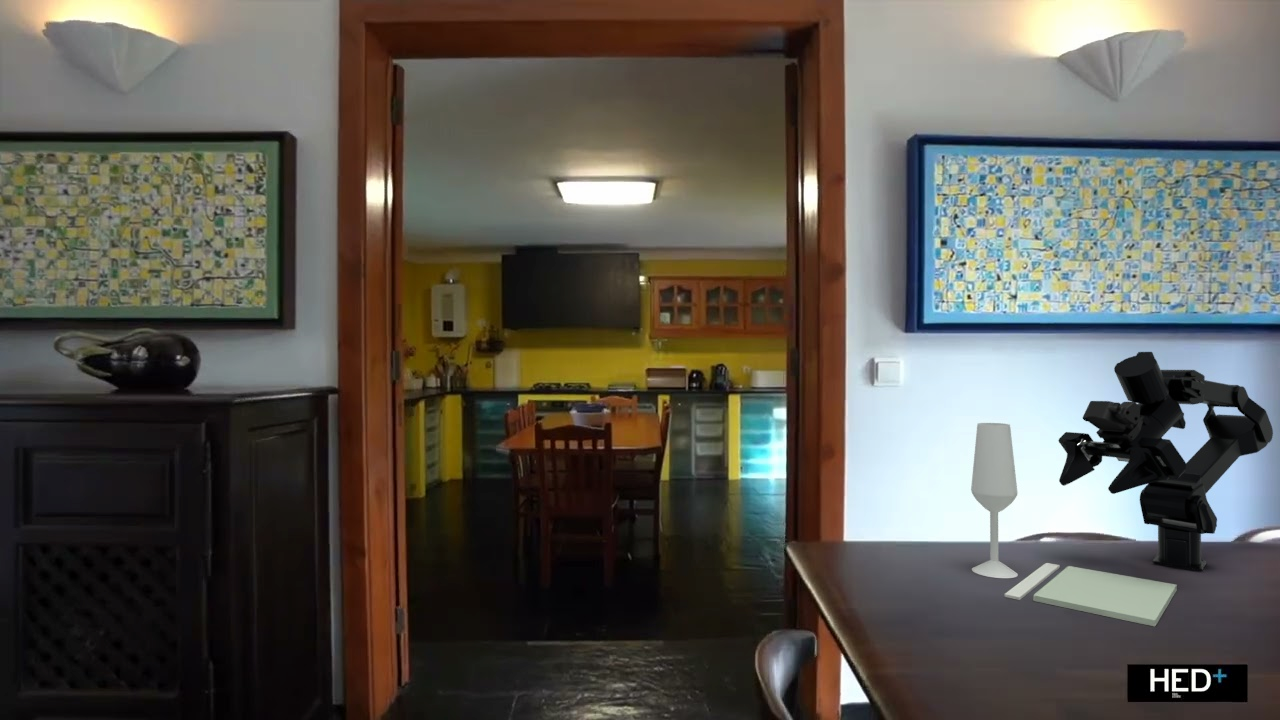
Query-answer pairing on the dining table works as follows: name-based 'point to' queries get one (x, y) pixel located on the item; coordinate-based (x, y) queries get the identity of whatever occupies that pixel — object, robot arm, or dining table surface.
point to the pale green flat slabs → (1099, 593)
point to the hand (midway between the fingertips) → (1084, 487)
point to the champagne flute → (994, 486)
